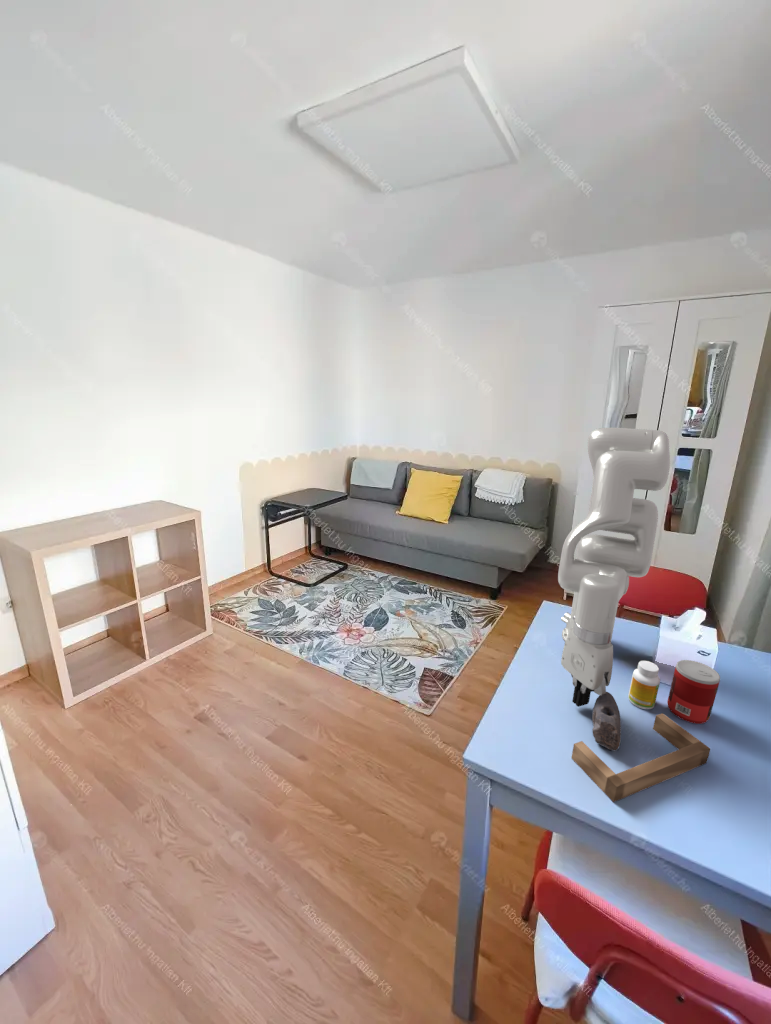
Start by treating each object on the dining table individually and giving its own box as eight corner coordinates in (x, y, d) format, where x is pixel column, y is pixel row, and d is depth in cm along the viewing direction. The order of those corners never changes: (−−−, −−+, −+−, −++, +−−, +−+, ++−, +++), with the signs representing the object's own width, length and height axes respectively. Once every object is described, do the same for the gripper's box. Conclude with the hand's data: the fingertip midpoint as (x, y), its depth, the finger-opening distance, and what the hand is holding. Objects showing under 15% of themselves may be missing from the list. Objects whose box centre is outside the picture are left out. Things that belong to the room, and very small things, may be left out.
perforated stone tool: (591, 703, 100) (595, 677, 98) (616, 711, 98) (622, 685, 96) (588, 750, 87) (594, 722, 85) (618, 760, 85) (624, 731, 83)
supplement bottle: (655, 713, 98) (664, 676, 95) (628, 705, 100) (636, 669, 97) (653, 698, 102) (661, 662, 100) (627, 691, 104) (634, 656, 102)
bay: (571, 758, 85) (573, 743, 84) (659, 726, 94) (662, 713, 93) (613, 802, 76) (616, 786, 75) (706, 763, 85) (710, 748, 84)
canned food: (716, 727, 94) (728, 684, 91) (674, 721, 95) (685, 678, 92) (699, 703, 101) (709, 662, 98) (661, 697, 102) (670, 657, 99)
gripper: (554, 617, 99) (544, 685, 104) (607, 654, 85) (593, 731, 90) (580, 611, 101) (569, 679, 106) (635, 647, 88) (620, 722, 93)
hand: (580, 702), depth 98 cm, fingers closed
